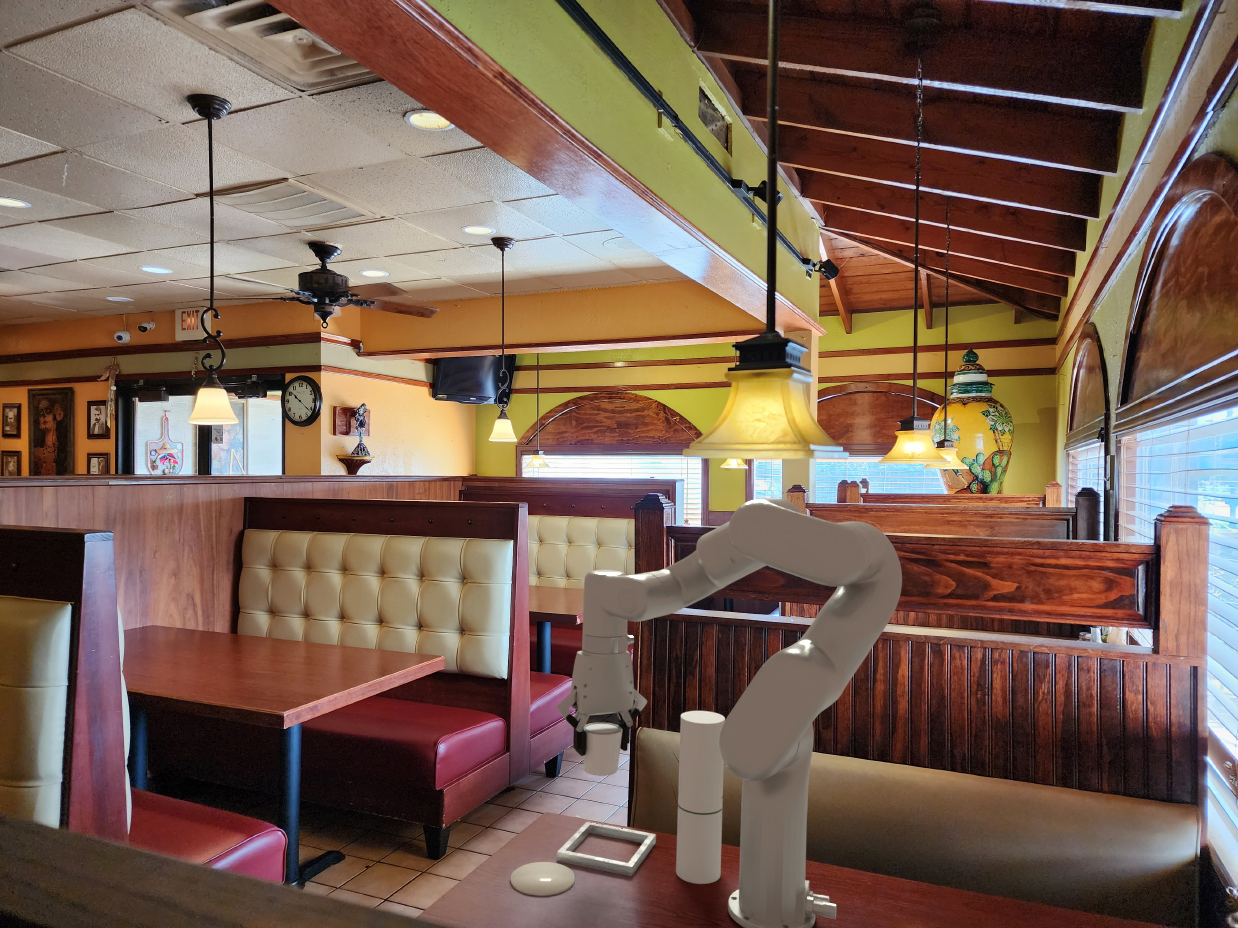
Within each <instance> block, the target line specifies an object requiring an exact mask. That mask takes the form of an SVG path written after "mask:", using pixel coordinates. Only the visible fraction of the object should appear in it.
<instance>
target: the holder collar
mask: <svg viewBox="0 0 1238 928" xmlns="http://www.w3.org/2000/svg"><path fill="white" fill-rule="evenodd" d="M596 823H597V822H592V823H591V821H585V823H584V824H583V825H582V826H581V827H580V828H579V829H578V830H577V831H575V833H574V834H573V835H572V836H571V837H570V838H569V839H568V840H567V841H566V842H565V843H564V844H563V845H562V846H561V847H560V848H559V849H558V850H557V851H556V861H557V862H560V863H565V864H568V865H575V866H577V867H583V868H589V869H593V870H598V871H603V872H608V873H613V874H618V875H621V876H627V877H633V876H634V874H635V873H636V871H637V870H638V868H640V866H641V864H642V863H643V861H644V860H645V859H646V857H647V856H648V854H649V853H650V852H651V850H652V849H653V847H654V846H655V845H656V843H657V834H656V833H650V832H647V831H646V832H645V831H640V830H635V829H630V828H624V827H619V826H613V825H607V824H603V825H602V823H598V824H596ZM621 828H623V829H621ZM589 834H591V835H597V836H604V837H609V838H615V839H617V840H618V839H619V840H623V841H630V842H634V843H638V844H639V843H640V844H641V845H640V846H639V848H638V849H637V851H636V852H635V853H634V855H632V857H631V858H630V860H629V861H628V862H624V861H619V860H616V859H615V860H614V859H609V858H604V857H601V856H594V855H590V854H584V853H581V852H580V853H579V852H574V851H575V849H577V848H578V846H579V845H580V844H581V843H582V842H583V841H584V840H585V839H586V837H588V835H589Z"/></svg>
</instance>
